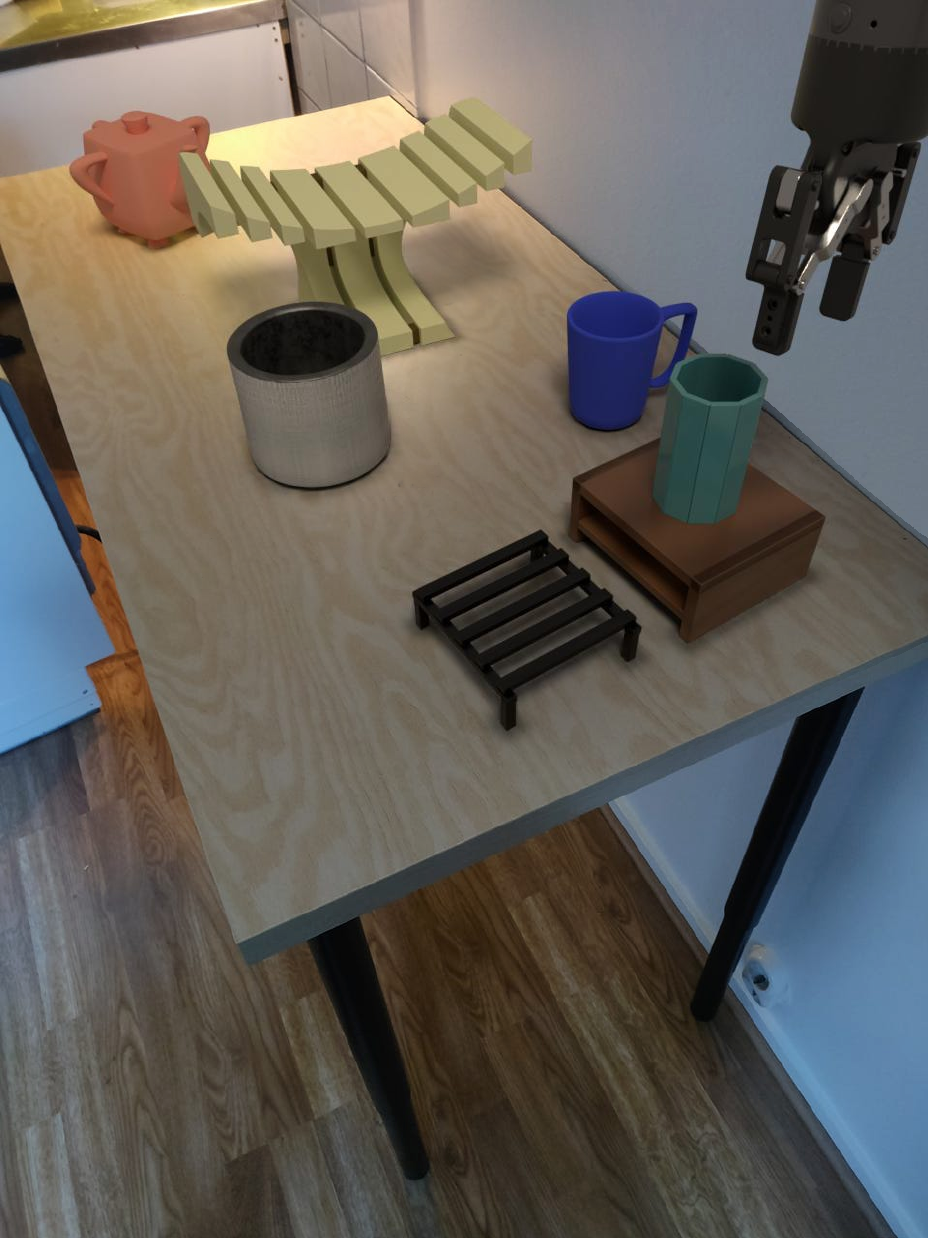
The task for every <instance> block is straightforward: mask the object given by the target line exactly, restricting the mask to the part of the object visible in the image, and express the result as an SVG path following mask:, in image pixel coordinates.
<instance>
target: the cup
mask: <svg viewBox="0 0 928 1238" xmlns="http://www.w3.org/2000/svg"><path fill="white" fill-rule="evenodd" d="M768 383H769V377H768V376H767V375H766V374H765V373H764V372H763V370H762V369H761V368H760V367H758V365H757V364H756V363H754V362H753V361H750V360H747V359H746V358H745V359H744V358H741V357H739V356H736V355H733V354H731V353H696V354H694V355H692V356H689V357H686V358H685V359H684V360H682V361H680V362H677V364H675V367H674V369H673V372H672V374H671V377H670V380H669V384H668V386H667V394H666V400H665V408H664V413H663V420H662V428H661V433H660V434H661V435H660V437H661V440H660V446H659V453H658V459H657V466H656V473H655V479H654V486H653V493H652V497H653V498H654V500H655V501H656V503H657V505H658V506H659V508H660V509H661V511H662V512H664V514H667V515H669V516H671V517H673V518H675V519H678V520H680V521H682V522H684V523H687V522H688V524H714V523H718V522H720V521H722V520H723V519H725V518H727V517H729V516H731V515H733V514H735V513H736V510H737V506H738V502H739V499H740V495H741V491H742V487H743V482H744V478H745V474H746V470H747V466H748V463H750V462H749V461H750V458H751V452H752V449H753V445H754V441H755V436H756V434H757V433H756V432H757V428H758V425H759V421H760V417H761V412H762V409H763V403H764V401H765V396H766V392H767V388H768Z"/></svg>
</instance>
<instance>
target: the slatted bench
mask: <svg viewBox="0 0 928 1238" xmlns="http://www.w3.org/2000/svg"><path fill="white" fill-rule="evenodd" d="M398 147H399V148H397V146H395V145H392V146H388V147H385V148H384V149H381V150H377V151H374V152H372V153H369V154H366V155H363V156H360V157H357V158H358V159H357V163H356V164H354V163H353V162H352V161H351V160H345V161H342V162H338V163H334V164H327V165H323V166H315V167H314V172H313V173H310V172H309V171H308V169H307V168H297V169H296V168H295V169H270V170H269V178H268V177H267V176H266V175H265V174H264V172H263V171H262V170H261V167H260V166H254V165H253V166H252V165H240V166H239V170H240V171H239V172H240V176H239V175H238V173H237V172H236V169H234V167H233V165H232V164H231V162H230V161H228V160H220V159H212V158H211V159H209V164H210V171H211V175H210V173H209V171H208V170H207V168H206V167H205V165H204V163H203V162H202V160H201V158H200V157H199V155H198V154H196V153H190V152H182V153H178V161H179V167H180V172H181V176H182V180H183V184H184V188H185V192H186V196H187V200H188V204H189V208H190V212H191V216H192V220H193V222H194V224H195V226H196V228H197V230H196V231H197V232H198V233H199V235H200V237H201V239H203V238H205V237H207V236H210V235H211V234H214V235H215V236H216V238H217V239H223V238H224V239H225V238H228V237H232V236H237V235H240V232H239V231H240V230H239V227H241V228H242V229H243V231H244V233H245V235H246V236H247V237H248V239H249V240H250V242H251V243H256V242H261V241H265V240H270V239H273V238H274V237H273V232H274V233H275V234H276V236H277V237H278V238H279V240H280V241H281V243H282V244H283V246H284V247H288V246H290V248H291V250H292V253H293V256H294V259H295V264H296V269H297V283H298V284H297V285H298V287H297V290H298V291H297V294H298V295H297V303H299V302H331V303H337V304H342V305H346V306H349V307H352V308H355V309H357V310H359V311H361V312H363V313H364V314H366V315H367V316H368V317H369V318H370V319H371V320H372V321H373V322H374V324H375V326H376V328H377V332H378V338H379V347H380V355H381V357H382V356H387V355H390V354H395V353H399V352H403V351H407V350H410V349H413V348H415V347H414V344H416V343H419V344H420V345H421V346H426V345H429V344H433V343H437V342H440V341H445V340H448V339H452V338H456V335H455V334H454V333H453V332H452V331H451V329H450V327H449V326H448V324H447V323H446V321H445V320H444V318H443V317H442V316H441V315H440V314H439V312H438V311H437V310H436V309H435V308H434V306H433V305H432V303H431V302H430V301H429V300H428V298H427V297H426V296H425V294H424V293H423V292H422V290H421V288H420V287H419V286H418V285H417V283H416V282H415V280H414V279H413V276H412V275H411V273H410V272H409V270H408V267H407V265H406V262H405V259H404V253H403V235H404V231H405V227H406V224H407V223H408V225H410V227H412V229H415V228H419V227H423V226H428V225H432V224H433V225H434V224H436V223H437V224H438V223H441V222H446V221H450V220H451V207H450V205H451V204H450V203H451V202H452V203H454V204H455V205H456V206H457V207H458V208H464V207H468V206H472V205H477V204H478V186H479V187H480V188H481V189H483V190H484V191H485V192H490V191H495V190H499V189H503V188H505V171H507V172H509V173H510V174H511V175H513V176H515V175H520V174H525V173H530V172H532V170H533V169H532V164H533V139H532V138H531V137H530V136H528V135H527V134H526V133H525V132H523V131H522V130H520V129H519V128H518V127H517V126H515V125H514V124H512V123H511V122H510V121H509V120H507V119H506V118H504V117H503V115H500V113H498V112H497V111H495V109H493V108H491V107H490V106H488V105H487V104H486V103H485V102H483V101H482V100H481V99H479V98H478V97H476V96H471V97H467V98H464V99H461V100H459V101H457V102H455V103H452V104H450V108H449V111H448V114H447V113H444V114H440V115H439V116H436V117H434V118H433V119H430V120H429V121H426V122H425V123H424V127H423V132H421V131H420V130H417V131H414V132H412V133H410V134H407V135H405V136H403V137H401V138H399V146H398ZM450 201H451V202H450ZM272 230H273V232H272Z"/></svg>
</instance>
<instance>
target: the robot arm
mask: <svg viewBox="0 0 928 1238" xmlns="http://www.w3.org/2000/svg"><path fill="white" fill-rule="evenodd" d="M800 66H801V67H800V71H799V75H798V79H797V85H796V89H795V93H794V97H793V103H792V107H791V112H790V121H791V123H792V125H793V127H795V128H796V129H798V130H800V131H801V132H805V133H806V134H807V135H808V137H809V140H810V141H809V146H808V148H807V150H806V153H805V156H804V158H803V160H802V163H801V166H800V167H799V168H796V167H795V168H794V167H790V166H785V165H779V164H776V165H774V167H773V168H772V169H771V170H770V174H769V176H768V180H767V183H766V188H765V191H764V197H763V201H762V204H761V208H760V213H759V216H758V220H757V224H756V229H755V233H754V237H753V241H752V245H751V249H750V253H749V257H748V262H747V265H746V269H745V280H747V281H750V282H753V283H756V284H759V285H761V286H763V292H762V296H761V300H760V305H759V308H758V313H757V316H756V317H757V318H756V322H755V327H754V331H753V334H752V339H751V342H752V343H751V344H752V346H753V348H754V349H756V350H758V351H761V352H763V353H766V354H769V355H773V356H776V357H779V356H782V355H784V354H786V353H788V352H789V351H790V349H791V347H792V343H793V339H794V336H795V331H796V328H797V324H798V321H799V316H800V314H801V313H800V312H801V309H802V305H803V301H804V298H805V290H806V289H807V287H808V285H809V284H810V281H811V279H812V278H813V276H814V274H815V272H816V270H817V268H818V266H819V265H820V263H822V262H825V261H828V260H829V259H831V262H830V266H829V269H828V273H827V278H826V281H825V283H824V284H825V285H824V288H823V291H822V296H821V299H820V303H819V307H818V311H819V313H820V314H821V316H823V317H825V318H828V319H832V320H836V321H839V322H847V321H849V320H850V319H851V320H852V319H853V318H854V317H855V316H856V313H857V309H858V307H859V302H860V299H861V297H862V293H863V289H864V287H865V283H866V279H867V276H868V273H869V269H870V266H871V262H870V261H872V262H874V261H876V259H877V258H878V256H879V255H880V253H881V252H882V245H886V246H890V245H892V243H893V242H894V240H895V239H896V237H897V233H898V230H899V226H900V222H901V218H902V215H903V211H904V208H905V204H906V202H907V197H908V194H909V191H910V187H911V184H912V182H913V181H912V180H913V178H914V173H915V170H916V166H917V163H918V159H919V156H920V153H921V149H922V143H921V142H920V141H921V140H923V139H925V138H927V137H928V0H815V4H814V8H813V14H812V17H811V22H810V27H809V30H808V35H807V39H806V44H805V48H804V51H803V57H802V61H801V65H800ZM772 241H775V244H774V245H773V246H774V247H773V248H772V250H771V252H770V253H769V251H770V247H771V243H772ZM835 252H837V253H841V254H836V255H834V254H835ZM768 255H769V256H768ZM802 255H803V258H802ZM833 255H834V256H833ZM801 258H802V260H801Z"/></svg>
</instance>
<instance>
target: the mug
mask: <svg viewBox="0 0 928 1238" xmlns="http://www.w3.org/2000/svg"><path fill="white" fill-rule="evenodd" d="M679 316H683V319H682V324H681V329H680V333H679V337H678V341H677V344H676V347H675V351H674V353H673V356H672V359H671V361H670V362H669V365H668V366H667V368H666V369H665V370H664V371H663V372H662V373H661V374H659V375H658V376H655V377H653V372H654V368H655V364H656V360H657V354H658V351H659V347H660V343H661V338H662V334H663V333H662V332H663V330H664V329H663V328H664V324H665V322H667V321H668V320H670V319H672V318H676V317H679ZM697 316H698V308H697V306H696V305H694V304H693V303H692V302H678V303H674V304H673V303H672V304H668V305H665V306H662V307H660V305H658V304H657V303H656V302H655V301H654V300H652V299H650V298H648V297H647V296H644V295H641V294H638V293H634V292H629V291H621V290H620V291H619V290H607V291H605V290H604V291H599V292H593V293H590V294H587V295H584V296H582V297H580V298H578V299H576V300H575V301H574V302H573V303H572V304H571V305H570V307H569V308H568V309H567V313H566V337H567V339H566V340H567V373H568V402H569V407H570V410H571V412H572V414H573V416H574V417H575V419H576V420H578V421H579V422H580V423H582V424H584V425H585V426H587V427H590V428H593V429H597V430H603V431H606V430H607V431H608V430H609V431H613V430H619V429H623V428H626V427H628V426H631V425H632V424H634V423H635V422H637V421H638V419H639V418H640V417H641V415H642V413H644V410H645V407H646V404H647V401H648V396H649V390H650V389H651V388H652V389H657V388H662V387H665V386H667V385H669V380H670V377H671V374H672V372H673V369H674V367H675V364H677V362H680V361H682V360H684V359H686V358H687V354H688V351H689V348H690V344H691V340H692V337H693V333H694V329H695V325H696V321H697Z"/></svg>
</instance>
